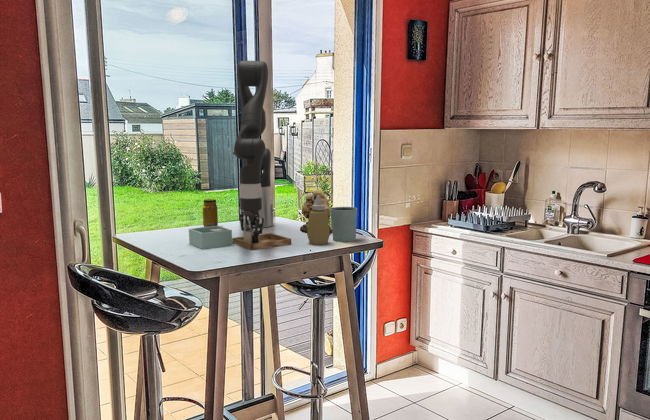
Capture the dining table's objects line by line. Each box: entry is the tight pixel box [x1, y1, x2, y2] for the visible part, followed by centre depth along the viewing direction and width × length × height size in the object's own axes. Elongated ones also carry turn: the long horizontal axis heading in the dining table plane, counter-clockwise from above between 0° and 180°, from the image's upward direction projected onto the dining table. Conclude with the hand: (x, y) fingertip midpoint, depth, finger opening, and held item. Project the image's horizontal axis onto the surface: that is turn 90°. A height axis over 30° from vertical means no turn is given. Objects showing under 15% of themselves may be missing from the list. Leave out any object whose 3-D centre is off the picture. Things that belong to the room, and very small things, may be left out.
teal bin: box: [188, 225, 233, 250], centre depth 194 cm, size 11×11×6 cm
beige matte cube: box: [242, 230, 260, 244], centre depth 192 cm, size 4×4×5 cm
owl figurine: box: [299, 189, 333, 235], centre depth 222 cm, size 18×12×17 cm, turn 34°
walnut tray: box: [232, 232, 292, 251], centre depth 195 cm, size 16×14×3 cm
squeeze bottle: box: [306, 195, 331, 246], centre depth 195 cm, size 8×8×18 cm
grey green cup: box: [329, 206, 358, 243], centre depth 205 cm, size 10×10×12 cm
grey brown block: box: [209, 228, 224, 232], centre depth 195 cm, size 4×4×5 cm
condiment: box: [202, 198, 224, 227], centre depth 231 cm, size 7×8×12 cm
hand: (251, 244), depth 193 cm, fingers closed on beige matte cube, 4 cm apart
